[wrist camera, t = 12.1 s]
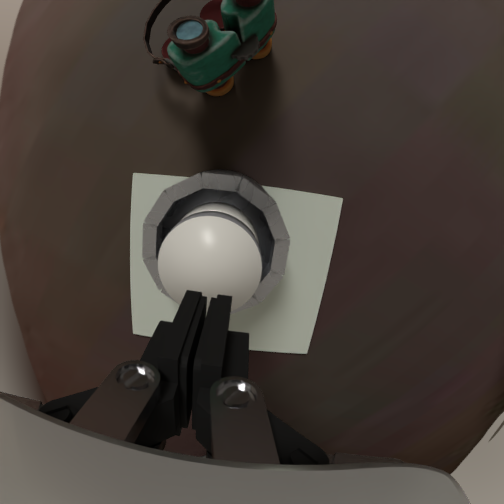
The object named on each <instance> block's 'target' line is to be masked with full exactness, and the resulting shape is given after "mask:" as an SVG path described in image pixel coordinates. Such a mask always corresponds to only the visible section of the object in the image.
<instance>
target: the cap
mask: <svg viewBox="0 0 504 504" xmlns="http://www.w3.org/2000/svg"><path fill="white" fill-rule="evenodd" d="M262 268H263V266H262V256H261V251H260V246H259V241H258V235H257V231H256V228H255V226H254V224H253V222H252V221H251V219H250V218H249V217H248V216H247V215H246V214H245V213H244V212H243V211H242V210H240V209H239V208H237V207H235V206H233V205H231V204H228V203H223V202H209V203H204V204H201V205H199V206H197V207H195V208H193V209H192V210H191V211H189V212H188V213H187V214H186V215H185V216H184V217H183V219H182V220H181V221H180V222H178V223H177V224H176V225H175V226H174V227H173V228H172V229H171V231H170V232H169V233H168V234H167V236H166V237H165V239H164V240H163V242H162V245H161V247H160V250H159V255H158V271H159V276H160V279H161V282H162V284H163V286H164V288H165V289H166V291H167V293H168V294H169V295H170V296H171V297H172V298H173V299H174V300H175V301H176V302H177V303H178V304H181V302H182V299H183V297H184V295H185V293H186V291H187V290H191V291H198V292H202V296H206V297H207V307H206V314H207V311H208V307H209V304H210V300H211V297H213V298H217V295H218V294H220V295H227V296H232V304H231V311H233V310H235V309H237V308H239V307H241V306H242V305H243V304H245V303H246V302H247V301H248V300H249V299H250V298H251V297H252V295H253V294H254V293H255V291H256V289H257V287H258V285H259V283H260V280H261V276H262Z"/></svg>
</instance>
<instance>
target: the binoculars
mask: <svg viewBox="0 0 504 504" xmlns="http://www.w3.org/2000/svg"><path fill="white" fill-rule="evenodd" d="M170 1H171V0H160V1H159V3H158V4H157V5H156V7H155V8H154V9H153V10H152V12H151V14H150V16H149V18H148V20H147V22H146V24H145V30H144V37H143V40H144V44H145V47H146V50H147V52H148V53H149V54H150V55H151V56H152V57H153V58H154V60H153V63H155V64H166V65H167V66H168V67H169V68H173V69H174V70H176V71H178V73H179V75H180V76H181V78H182V79H183V80H184V83H185V84H189V85H190V86H191V87H192V88H193V89H195V90H197V91H199V92H206V93H207V94H209V95H212V96H222V95H224V94H226V93H228V92H229V91H230V90H231V88H232V87H233V84H234V77H233V75H234V74H236V73H237V72H238V71H239V70H240V69H241V68H242V67H243V66H244V65H245V63H246V61H245V60H247V61H249V60H250V59H261V58H264V57H265V56H267V55H268V54H269V52H270V51H271V46H272V39H271V37H272V35H273V33H274V31H275V27H276V24H277V17H276V13H275V11H274V0H212V1H210V2H208V3H207V4H206V5H205V6H204V7H203V8H202V10H201V13H200V17H196V16H184V17H181V18H178V19H176V20H174V21H173V22H172V23H171V24H170V25H169V27H168V30H167V33H168V36H169V39H168V40H167V41H166V42H165V43H164V44H163V47H162V55H163V57H164V58H158V57H155V56H154V55H153V54H152V51H151V48H150V45H149V39H150V32H151V27H152V25H153V23H154V22H155V20H156V18H157V16H158V14H159V13H160V12H161V11H162V9H163V8H164V7H165V6H166V5H167V4H168V3H169V2H170Z"/></svg>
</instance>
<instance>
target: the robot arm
mask: <svg viewBox="0 0 504 504" xmlns="http://www.w3.org/2000/svg"><path fill="white" fill-rule="evenodd" d="M231 304H232V296H227V295H220V294H218V295H217V298H213V297H211V300H210V304H209V307H208V311H207V315H206V307H207V297H206V296H202V292H198V291H191V290H187V291H186V293H185V295H184V297H183V299H182V302H181V304H180V306H179V308H178V311H177V313H176V315H175V317H174V320H173V322H168V321H162V320H161V321H160V322H159V323H158V325H157V327H156V329H155V331H154V333H153V335H152V337H151V339H150V341H149V343H148V345H147V347H146V349H145V351H144V353H143V355H142V357H141V360H140V361H139V360H131V361H126V362H123V363H121V364H119V365H117V366H116V367H115V368H114V369H113V370H112V371H111V372H110V374H109V375H108V376H107V377H106V378H105V380H104V381H103V382H102V383H101V385H100V386H99V387H96V388H93V389H90V390H87V391H83V392H80V393H77V394H73V395H70V396H66V397H63V398H59V399H56V400H52V401H50V402H48V403H46V404H45V405H43V404H42V402H41V401H39V400H34V399H29V398H25V397H20V396H16V395H12V394H8V393H4V392H0V504H471V503H470V501H469V499H468V498H467V496H466V494H465V493H464V491H463V489H462V488H461V486H460V485H459V484H458V482H457V481H456V480H455V479H454V478H453V477H452V476H451V475H450V474H448V473H447V472H445V471H443V470H440V469H437V468H434V467H430V466H426V465H419V464H413V463H404V462H403V461H401V460H399V459H394V458H384V457H372V456H361V455H352V454H344V453H337V452H336V453H335V454H334V455H327V454H326V453H325V452H324V451H323V450H322V449H321V448H320V447H318V446H317V445H315V444H314V443H312V442H311V441H309V440H308V439H306V438H305V437H304V436H302V435H301V434H299V433H298V432H296V431H295V430H294V429H292V428H291V427H289V426H288V425H287V424H285V423H284V422H283V421H281V420H280V419H279V418H277V417H276V416H275V415H273V414H272V413H271V412H269V411H268V410H267V409H266V405H265V401H264V397H263V393H262V391H261V389H260V387H259V386H258V385H257V384H256V383H254V382H253V381H251V380H249V379H248V361H249V333H245V332H237V331H229V321H230V313H231ZM191 410H192V429H194V430H196V439H197V440H198V441H199V442H200V443H201V444H202V445H203V446H204V447H205V448H206V458H202V457H195V456H189V455H183V454H178V453H172V452H167V451H163V450H164V448H165V445H166V439H168V438H170V437H172V436H175V435H177V436H180V433H181V429H182V427H183V428H188V424H189V420H190V415H191Z"/></svg>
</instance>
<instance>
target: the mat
mask: <svg viewBox="0 0 504 504" xmlns="http://www.w3.org/2000/svg"><path fill="white" fill-rule="evenodd" d="M187 178H189V177H180V176H168V175H155V174H141V173H133V182H132V199H131V226H130V280H131V306H132V323H133V334H138V335H143V336H149V337H152V335H153V333H154V331H155V329H156V327H157V325H158V323H159V322H160V321H161V320H162V321H168V322H173V320H174V317H175V315H176V313H177V311H178V308H179V306H180V305H179V304H178V303H176V302H175V301H173V300H172V299H170V298H169V297H167V296H166V295H164V294H163V293H161V290H162V289H161V290H159V289H158V287H157V286H156V284H155V282H154V280H153V278H152V276H151V275H150V273H149V271H148V269H147V267H146V265H145V263H144V261H143V259H144V258H142V241H143V223H144V222H145V221H144V220H145V218H146V217H147V215H148V213H149V212H150V210H151V209H152V207H153V206H154V204H155V203H156V201H157V199H158V198H159V196H160V195H161V193H162V192H163V191H164V190H165V189H166V188H168V187H170V186H172V185H174V184H177V183H179V182H181V181H183V180H185V179H187ZM262 187H263V188H264V189H265V190H266V191H267V192H268V194H269V195H270V196H271V197H272V198H273V199H274V200H275V202H276V203H277V206H278V208H279V211H280V213H281V216H282V218H283V221H284V224H285V226H286V229H287V231H288V234H289V236H290V238H289V239H290V246H289V251H288V257H287V262H286V268H285V273H284V275H283V278H282V279H281V280H280V281H279V283H278V284H277V285H276V286H275V287H274V288H273V289H272V291H271V292H270V293H269V294H268V295H267V296H266V297H265V299H264V300H263V301H262V302H261V303H260V302H259V304H258V305H255V306H252V307H250V308H247V309H244V310H242V311H239V312H236V313H233V314H230V321H229V331H237V332H245V333H249V350H257V351H269V352H283V353H299V354H307V351H308V348H309V344H310V340H311V337H312V333H313V329H314V326H315V322H316V318H317V314H318V310H319V306H320V302H321V298H322V294H323V290H324V286H325V282H326V278H327V273H328V269H329V265H330V260H331V256H332V251H333V246H334V242H335V237H336V232H337V227H338V222H339V217H340V212H341V206H342V201H343V199H342V198H338V197H333V196H327V195H321V194H315V193H309V192H302V191H296V190H289V189H282V188H275V187H268V186H262ZM206 315H207V314H206Z"/></svg>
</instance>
